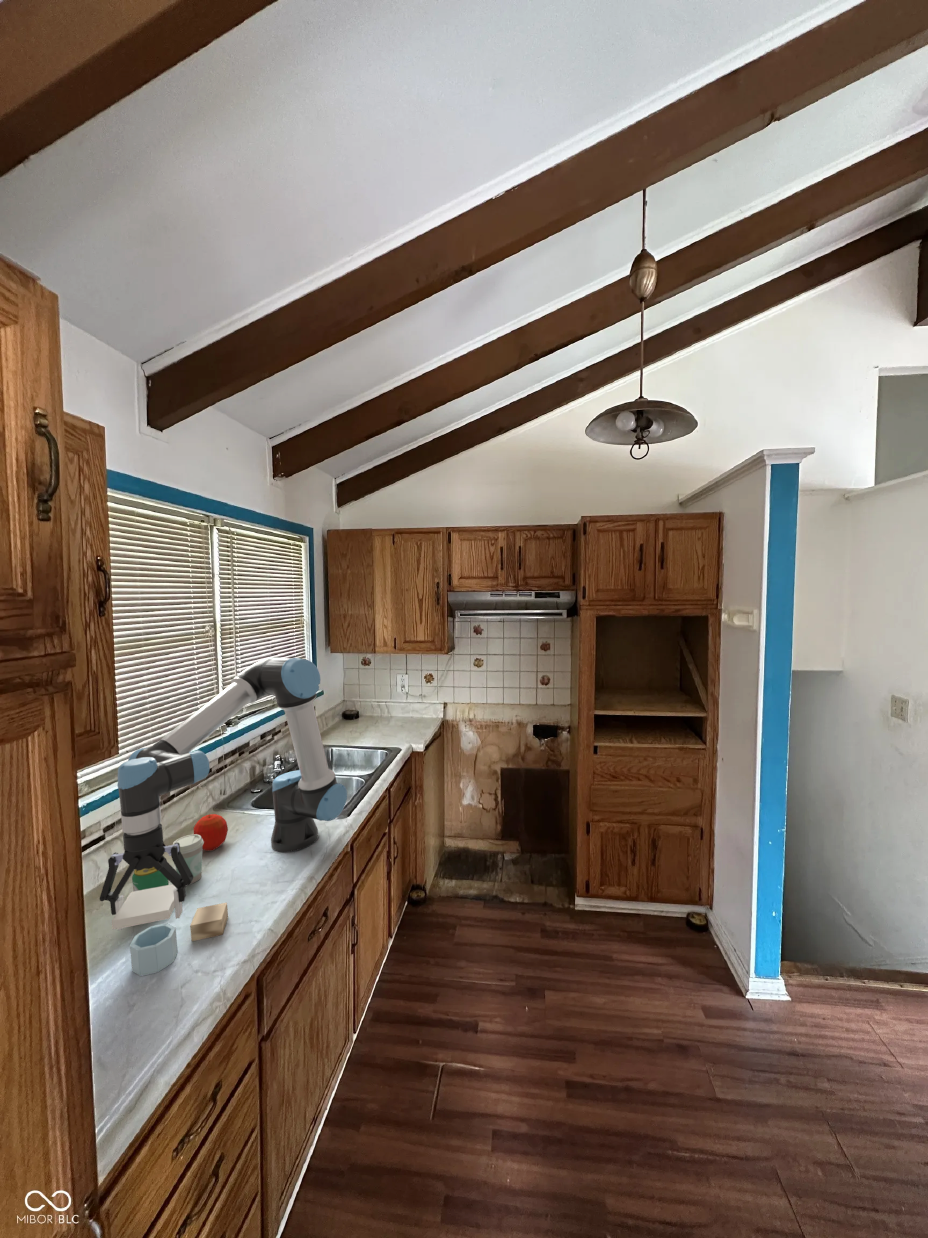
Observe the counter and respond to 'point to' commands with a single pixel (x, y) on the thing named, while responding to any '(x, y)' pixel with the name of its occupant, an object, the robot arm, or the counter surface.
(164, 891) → the ceramic tile
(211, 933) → the cork block
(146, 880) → the beverage can
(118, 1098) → the counter surface
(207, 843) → the apple
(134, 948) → the bowl
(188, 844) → the coffee cup
